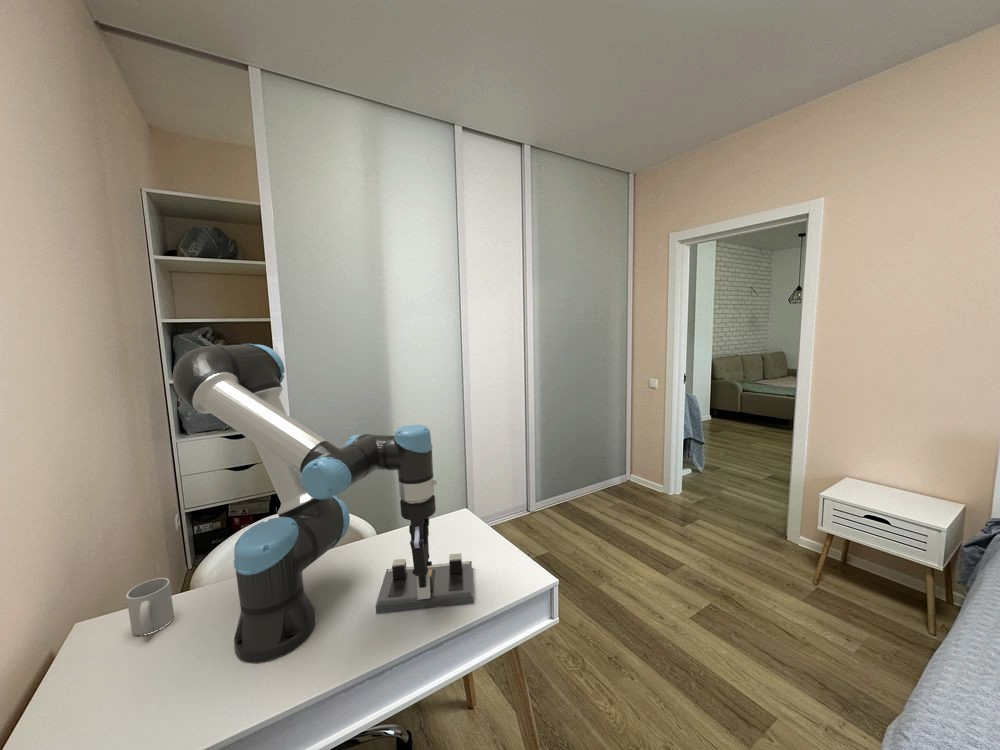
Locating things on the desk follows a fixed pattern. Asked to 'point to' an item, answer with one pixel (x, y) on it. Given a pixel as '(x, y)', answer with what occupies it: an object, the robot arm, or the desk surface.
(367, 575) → the desk surface
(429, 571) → the toggle
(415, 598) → the panel
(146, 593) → the cup
